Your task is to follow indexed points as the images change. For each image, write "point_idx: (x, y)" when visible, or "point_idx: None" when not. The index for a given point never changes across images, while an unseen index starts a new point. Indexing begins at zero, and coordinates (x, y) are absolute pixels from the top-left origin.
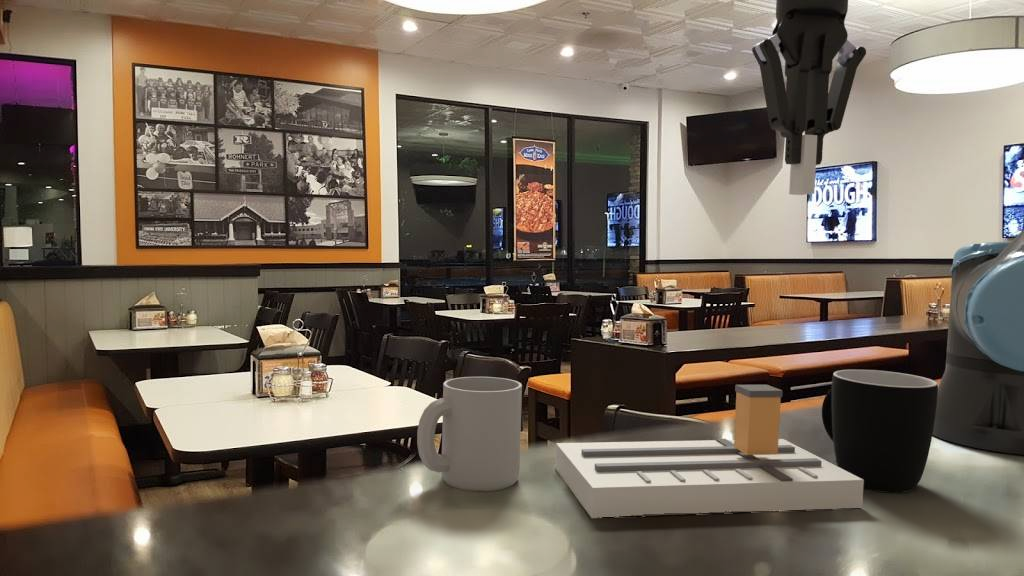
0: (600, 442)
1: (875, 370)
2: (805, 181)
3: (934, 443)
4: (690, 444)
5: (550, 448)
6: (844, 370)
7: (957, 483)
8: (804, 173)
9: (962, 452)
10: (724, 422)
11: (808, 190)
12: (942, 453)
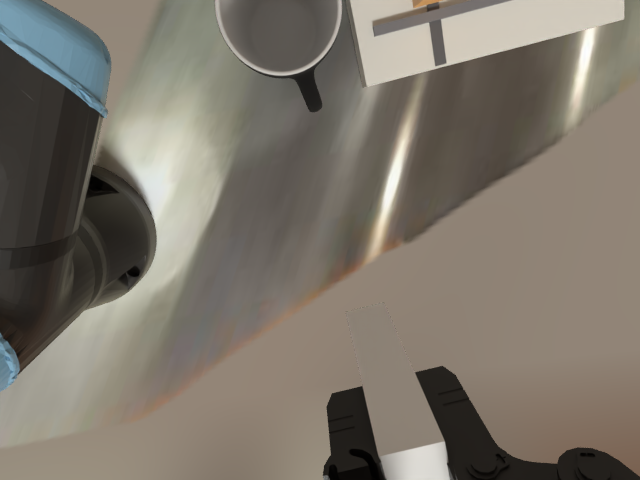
0: (575, 31)
1: (268, 71)
2: (382, 322)
3: (165, 201)
4: (478, 40)
5: (594, 101)
6: (313, 60)
7: (200, 42)
8: (393, 334)
9: (147, 168)
10: (377, 248)
11: (366, 310)
12: (171, 160)
